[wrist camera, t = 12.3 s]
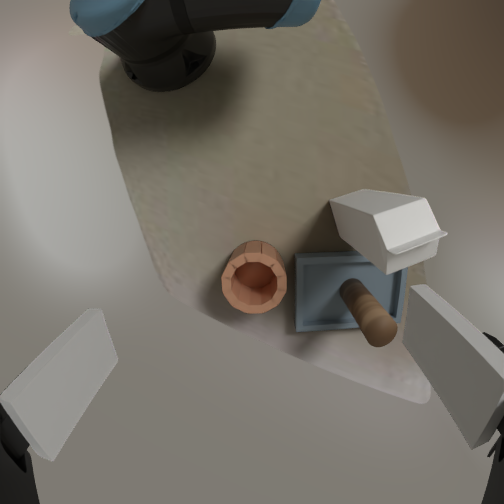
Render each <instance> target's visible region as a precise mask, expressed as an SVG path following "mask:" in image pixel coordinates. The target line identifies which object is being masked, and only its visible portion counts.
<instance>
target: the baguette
mask: <svg viewBox="0 0 504 504" xmlns="http://www.w3.org/2000/svg"><path fill="white" fill-rule="evenodd" d="M340 296H341V298H342V299H343V301H344V303H345V304H346V306H347V308H348V309H349V311H350V313H351V314H352V316H353V317H354V319H355V321H356V322H357V324H358V326H359V328H360V329H361V331H362V333H363V334H364V336H365V338H366V339H367V341H368V343H369V344H370V345H372V346H374V347H382V346H385V345H387V344H388V343H390V342H391V341H392V340H393V339H394V337H395V335H396V333H397V324H396V322H395V321H394V320H393V318H392V317H391V316H390V315H389V314H388V312H387V311H386V310H385V309H384V308H383V307H382V305H381V304H380V303H379V302H378V301H377V300H376V298H375V297H374V296H373V295H372V294H371V293H370V291H369V290H368V289H367V288H366V287H365V286H364V285H363V284H362V282H361V281H360V280H358V279H355V278H351V279H348V280H346V281H344V282H343V284H342V285H341V287H340Z"/></svg>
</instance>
